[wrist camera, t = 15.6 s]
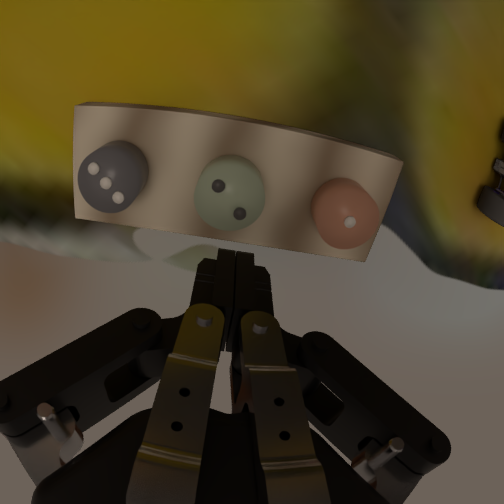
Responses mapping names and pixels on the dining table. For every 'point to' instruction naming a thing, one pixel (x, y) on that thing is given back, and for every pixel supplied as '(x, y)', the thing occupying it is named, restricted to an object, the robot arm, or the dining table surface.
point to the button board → (220, 144)
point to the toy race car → (494, 196)
